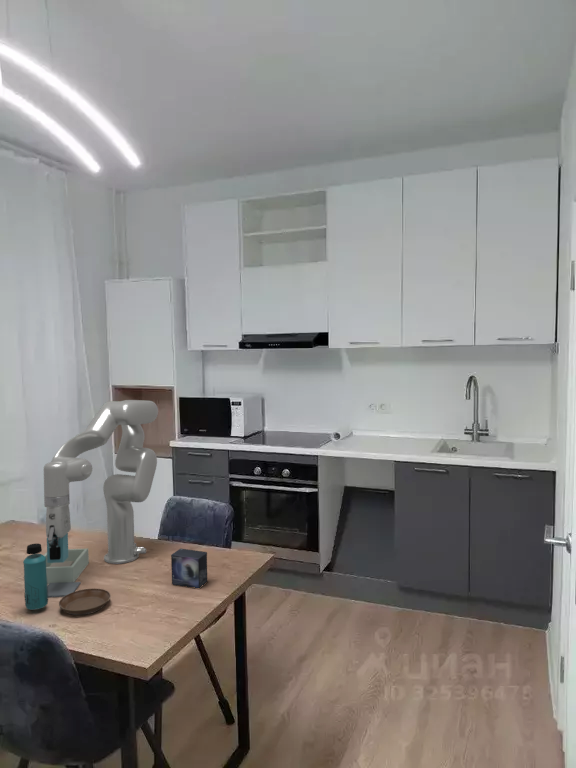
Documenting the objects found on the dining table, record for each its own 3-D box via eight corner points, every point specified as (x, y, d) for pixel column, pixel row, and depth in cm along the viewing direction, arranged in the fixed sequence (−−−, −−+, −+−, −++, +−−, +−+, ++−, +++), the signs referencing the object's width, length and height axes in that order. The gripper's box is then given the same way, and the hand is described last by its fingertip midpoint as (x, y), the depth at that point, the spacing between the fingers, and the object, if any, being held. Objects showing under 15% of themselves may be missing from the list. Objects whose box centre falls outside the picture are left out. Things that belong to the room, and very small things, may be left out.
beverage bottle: (53, 606, 170) (51, 542, 169) (37, 616, 164) (34, 549, 163) (36, 603, 172) (34, 540, 171) (19, 613, 166) (17, 547, 165)
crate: (88, 563, 205) (88, 548, 205) (73, 583, 187) (72, 567, 187) (49, 564, 204) (49, 549, 204) (30, 584, 186) (29, 568, 186)
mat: (80, 583, 187) (80, 581, 187) (71, 596, 177) (71, 594, 177) (49, 584, 186) (49, 583, 186) (38, 597, 176) (38, 596, 176)
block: (68, 556, 183) (67, 532, 183) (63, 562, 178) (62, 537, 178) (52, 557, 183) (52, 533, 183) (47, 562, 178) (46, 538, 178)
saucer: (65, 623, 160) (64, 614, 160) (54, 604, 172) (54, 595, 172) (116, 610, 168) (116, 601, 168) (103, 592, 180) (102, 584, 180)
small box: (170, 585, 185) (169, 554, 184) (180, 577, 191) (180, 547, 190) (198, 589, 181) (198, 558, 180) (208, 582, 187) (207, 551, 187)
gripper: (60, 507, 172) (61, 565, 172) (77, 493, 189) (78, 547, 189) (34, 507, 171) (36, 566, 172) (54, 494, 188) (55, 547, 189)
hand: (58, 555), depth 181 cm, fingers closed on block, 5 cm apart
